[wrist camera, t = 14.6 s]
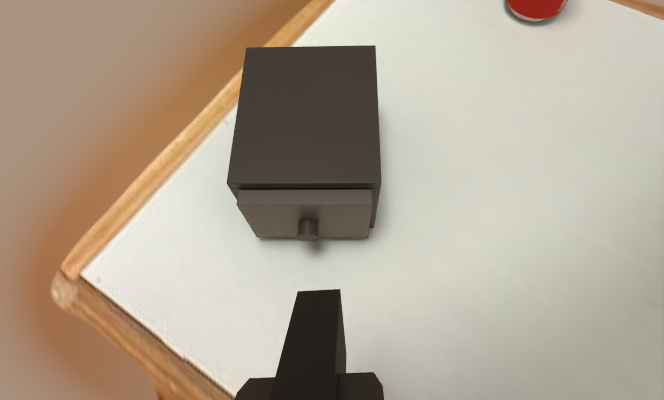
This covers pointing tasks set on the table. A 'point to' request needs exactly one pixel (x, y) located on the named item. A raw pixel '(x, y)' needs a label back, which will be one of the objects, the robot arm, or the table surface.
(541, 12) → the beverage can
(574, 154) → the table surface
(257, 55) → the dark brown boxy block
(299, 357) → the robot arm
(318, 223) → the drawer
